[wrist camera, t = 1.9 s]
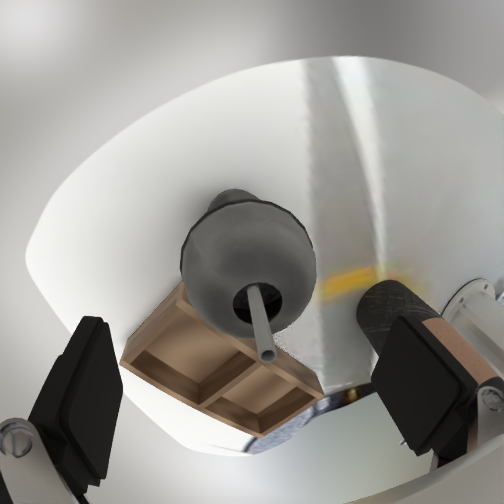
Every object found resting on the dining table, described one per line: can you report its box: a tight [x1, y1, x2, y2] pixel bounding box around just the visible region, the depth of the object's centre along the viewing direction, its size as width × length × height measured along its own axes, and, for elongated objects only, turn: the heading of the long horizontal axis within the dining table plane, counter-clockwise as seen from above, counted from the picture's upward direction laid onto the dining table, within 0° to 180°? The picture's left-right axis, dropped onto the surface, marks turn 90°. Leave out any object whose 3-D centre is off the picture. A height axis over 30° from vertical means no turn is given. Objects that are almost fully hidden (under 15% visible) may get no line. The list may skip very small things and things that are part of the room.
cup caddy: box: [119, 281, 325, 438], centre depth 31 cm, size 20×11×4 cm, turn 45°
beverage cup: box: [180, 189, 316, 363], centre depth 17 cm, size 7×7×20 cm
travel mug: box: [357, 280, 504, 394], centre depth 23 cm, size 8×8×20 cm
